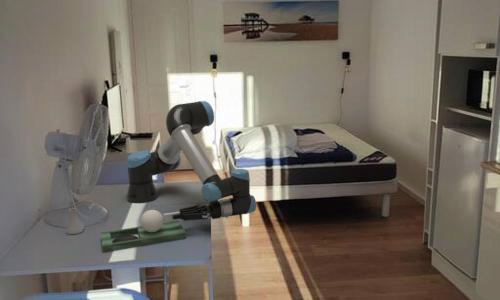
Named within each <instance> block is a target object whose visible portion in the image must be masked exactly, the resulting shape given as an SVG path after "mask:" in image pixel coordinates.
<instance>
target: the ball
mask: <svg viewBox="0 0 500 300" xmlns="http://www.w3.org/2000/svg"><path fill="white" fill-rule="evenodd" d="M163 223H164V216H163V214H162V213H161V212H160V211H158V210H155V209H150V210H146V211H145V212H143V214H142V215H141V218H140V225H141V226H142V228H143V229H144V230H145V231H147V232H156V231H158V230H159V229H160V228H161V227H162V225H163Z"/></svg>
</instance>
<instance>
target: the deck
mask: <svg viewBox="0 0 500 300" xmlns="http://www.w3.org/2000/svg"><path fill="white" fill-rule="evenodd" d="M137 235H138V236H137ZM100 238H101V245H102V253H108V252H114V251H119V250H120V251H121V250H125V249H132V248H137V247H143V246H144V247H145V246H149V245H150V246H151V245H155V244H161V243H166V242H167V243H168V242H173V241H178V240H184V239H187V233H186V231H185V229H184V227H183V226H182V223H181V222H180V220H171V221H165V222H163V225H162V227H161V228H160V229H159V230H158V231H156V232H147V231H145V230H144V229H143V228H142V226H136V227H135V226H134V227H128V228H124V229H123V228H122V229H115V230H109V231H103V232H100Z"/></svg>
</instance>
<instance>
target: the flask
mask: <svg viewBox="0 0 500 300" xmlns="http://www.w3.org/2000/svg"><path fill="white" fill-rule="evenodd" d="M77 210H78V208H73V207H72V208H69V209H68V212H69V219H68V220H69V221H68V224H67V228H66V232H65V234H67V235H79V234H81V233H84V231H85V227H84V225H83V223H82V222H81V220H80V218H79V216H78V213H77Z"/></svg>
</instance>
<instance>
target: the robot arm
mask: <svg viewBox="0 0 500 300" xmlns="http://www.w3.org/2000/svg"><path fill="white" fill-rule="evenodd" d="M214 120H215V113H214V109H213V107H212V105H211V104H210V103H209V102H208V101H206V100H202V101H201V100H200V101H193V102H186V103H179V104H178V103H177V104H176V105H173V106H172V107H171V108H170V109H169V111H168V112H167V114H166V119H165V125H166V130H167V132H168V135H169V138H168V140H167V141H166V142H165V143H164V144H161V145H160V146H159V147H158V148H157V150H155V151H149V150H140V151H138V150H137V151H135V152H131V154H129V155H128V156H127V160H126V167H127V173H128V174H127V175H128V185H129V186H128V189H127V191H126V192H127V194H126V200H127V202H130V203H134V204H138V203H140V204H141V203H142V204H143V203H147V202H152V201H154V200H156V199H157V198H158V197H159V196H158V191H157V188H156V186H155V184H154V181H153V179H154V177H153V176H156V175H161V174H165V173H169V172H174V171H175V170H177V169H178V168H179V167H180V165H181V152H182V153H183V155H184V157H186V160H187V161H188V162H189V164H190V166H191V167H192V169H193V171H194V172H195V175H197V178H198V179H199V180H200V182H201V184H202V186H201V190H200V191H201V194H202V198H203V199H204V200H205V201H206V202H208V205H201V204H200V203H198V204H195V205H191V206H187V207H184V208H183V207H182V208H179V211H175V212H174V211H173V212H166V213H163V214H162V216H163V222H171V221H178V220H182V221H187V222H188V221H197V220H199V221H201V220H204V221H205V220H208V219H209V218H208V217H210V219H212V220H216V219H221V218H228V217H233V216H241V215H247V214H252V213H254V212H256V210H257V200H256V198H255V196H254V195H252V194H251V191H250V188H251V187H250V180H251V179H250V172H249V170H248V169H245V168H236V169H233V170H232V171H231V173H230V177H225V178H221V176H219V174H218V172H217V170H216V168H215V167H214V166H213V164H212V162H211V161H210V159H209V157H208V156H207V154H206V153H205V151H204V150H203V148H202V147H201V145H200V144H199V141H198V140H197V138H196V136H195V135H198V134H200V133H201V131H202V130H203V129H204V128H205V127H210V126H211V125H213V123H214V122H215V121H214ZM230 196H231V198H228V197H230Z"/></svg>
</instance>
